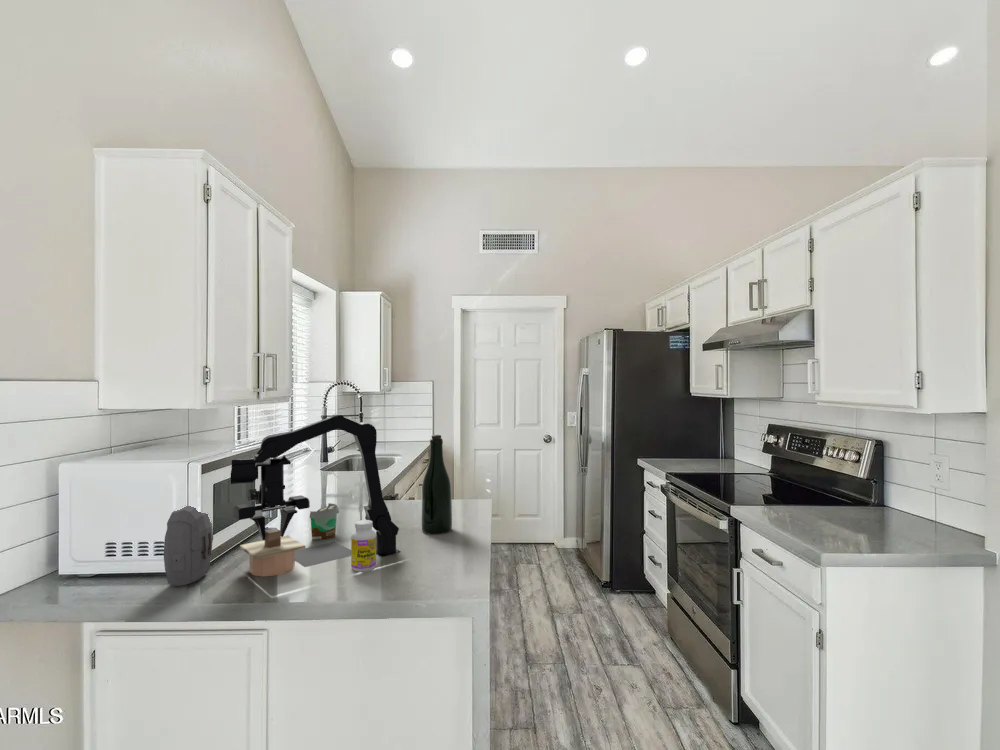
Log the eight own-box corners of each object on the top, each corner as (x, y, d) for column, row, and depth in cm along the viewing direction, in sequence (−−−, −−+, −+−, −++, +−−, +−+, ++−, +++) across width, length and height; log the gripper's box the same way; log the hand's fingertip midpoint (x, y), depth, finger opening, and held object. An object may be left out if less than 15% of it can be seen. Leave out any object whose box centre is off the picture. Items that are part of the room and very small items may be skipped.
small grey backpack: (191, 570, 145) (190, 497, 145) (222, 569, 145) (222, 497, 145) (158, 592, 130) (158, 511, 130) (193, 591, 130) (193, 510, 130)
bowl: (300, 570, 144) (300, 548, 144) (258, 581, 137) (258, 558, 137) (285, 560, 152) (285, 539, 152) (245, 569, 145) (244, 548, 145)
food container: (327, 544, 167) (326, 512, 167) (309, 543, 168) (309, 511, 168) (345, 532, 179) (345, 503, 179) (329, 532, 180) (329, 502, 180)
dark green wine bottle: (416, 533, 178) (415, 436, 178) (429, 525, 188) (428, 433, 188) (445, 536, 175) (444, 436, 175) (456, 527, 185) (456, 433, 185)
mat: (358, 555, 156) (358, 553, 156) (305, 568, 145) (305, 566, 145) (334, 543, 168) (334, 541, 168) (283, 554, 157) (283, 553, 157)
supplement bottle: (354, 574, 141) (353, 526, 141) (348, 566, 147) (348, 520, 147) (378, 570, 144) (378, 523, 144) (372, 562, 150) (372, 517, 150)
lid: (305, 548, 144) (305, 531, 144) (255, 559, 135) (255, 541, 135) (287, 538, 154) (287, 521, 154) (240, 548, 145) (239, 530, 145)
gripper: (295, 473, 157) (295, 525, 157) (227, 482, 144) (227, 538, 144) (310, 478, 148) (310, 533, 148) (239, 488, 136) (239, 548, 136)
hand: (272, 538), depth 144 cm, fingers open, 5 cm apart
